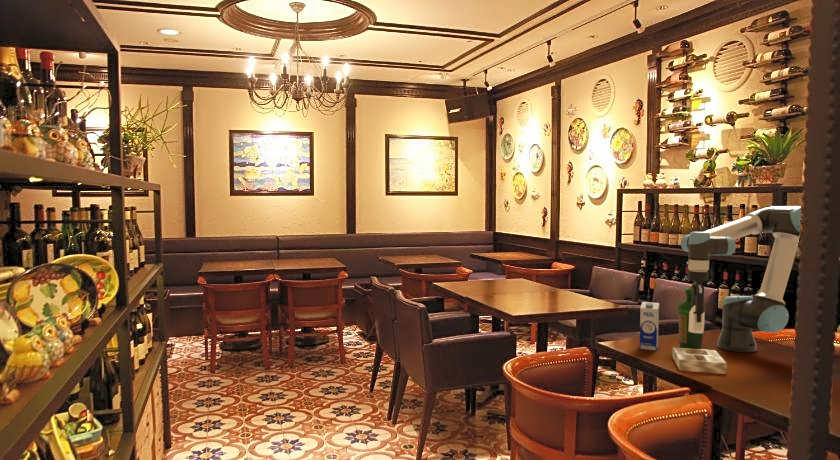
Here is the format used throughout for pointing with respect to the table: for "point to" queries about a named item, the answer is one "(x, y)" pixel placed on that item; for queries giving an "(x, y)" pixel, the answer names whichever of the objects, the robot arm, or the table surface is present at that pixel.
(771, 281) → the robot arm
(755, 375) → the table surface
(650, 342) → the milk carton
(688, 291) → the bottle
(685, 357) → the socket board
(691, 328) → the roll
